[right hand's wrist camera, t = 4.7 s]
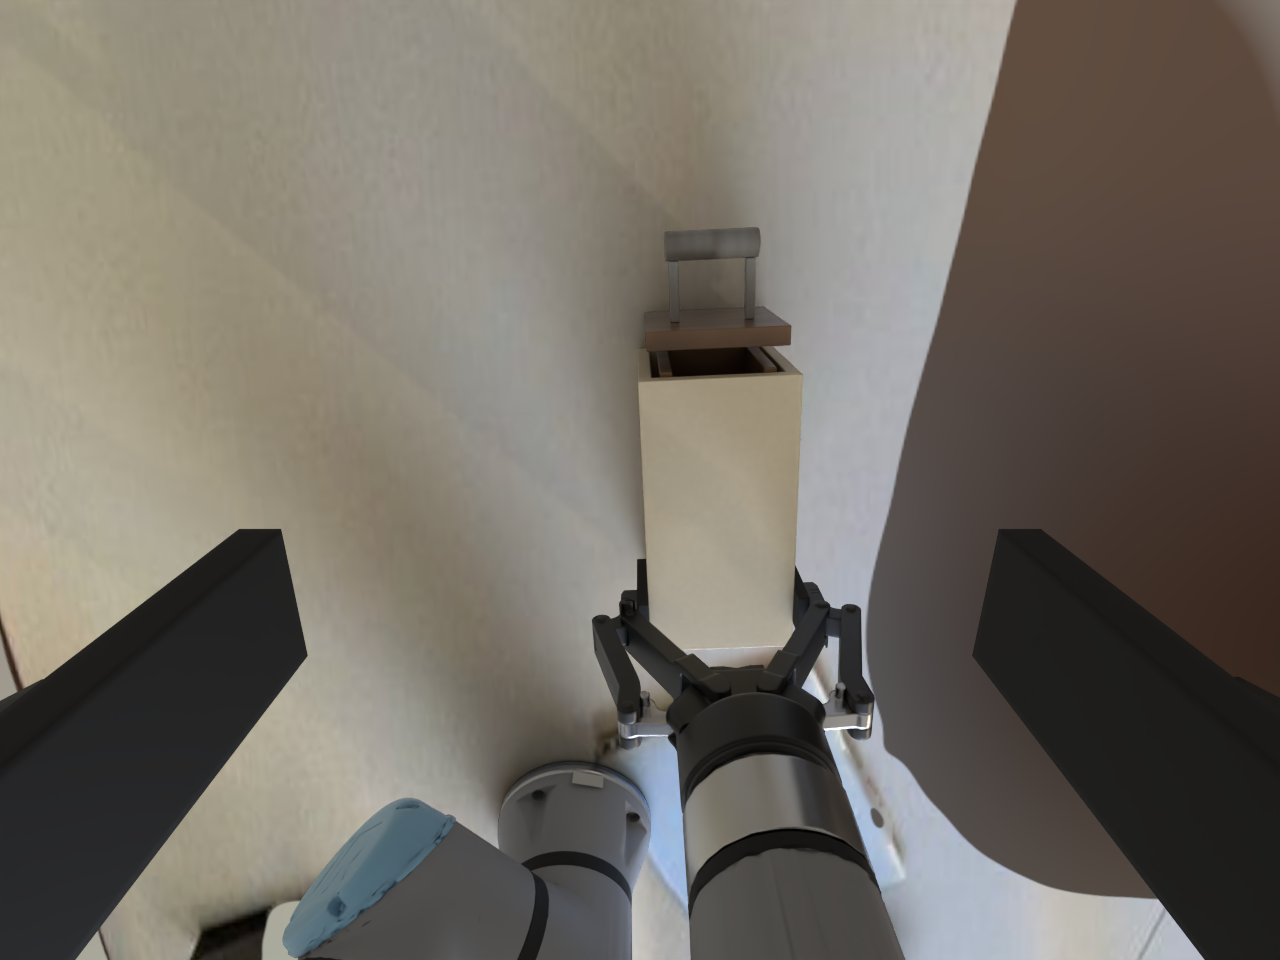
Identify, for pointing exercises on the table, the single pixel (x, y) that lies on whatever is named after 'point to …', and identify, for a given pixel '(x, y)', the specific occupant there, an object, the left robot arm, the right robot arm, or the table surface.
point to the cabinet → (721, 503)
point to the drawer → (713, 314)
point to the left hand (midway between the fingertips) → (713, 571)
